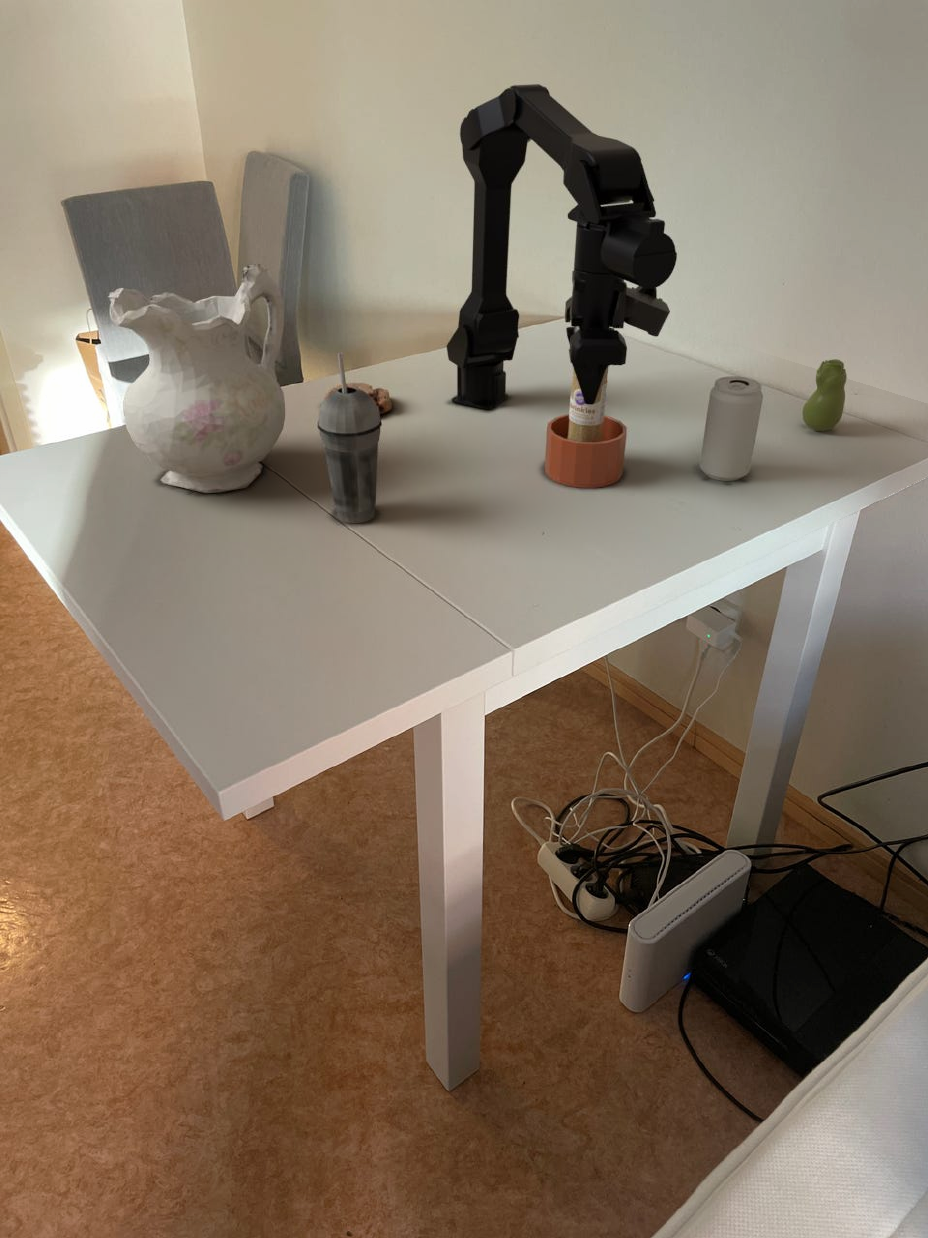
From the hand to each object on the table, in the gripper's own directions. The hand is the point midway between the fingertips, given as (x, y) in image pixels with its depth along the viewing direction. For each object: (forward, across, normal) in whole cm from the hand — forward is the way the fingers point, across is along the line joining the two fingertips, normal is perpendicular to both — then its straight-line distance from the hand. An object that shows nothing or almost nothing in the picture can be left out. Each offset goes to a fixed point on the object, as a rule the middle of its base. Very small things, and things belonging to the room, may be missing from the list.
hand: (588, 397), depth 120 cm
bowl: (+10, 0, 0) cm, 10 cm away
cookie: (+10, +20, +32) cm, 40 cm away
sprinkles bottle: (+6, 0, 0) cm, 7 cm away
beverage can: (+10, 0, -18) cm, 21 cm away
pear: (+10, +16, -34) cm, 39 cm away
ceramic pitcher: (+10, -2, +47) cm, 48 cm away
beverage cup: (+10, -14, +28) cm, 33 cm away
